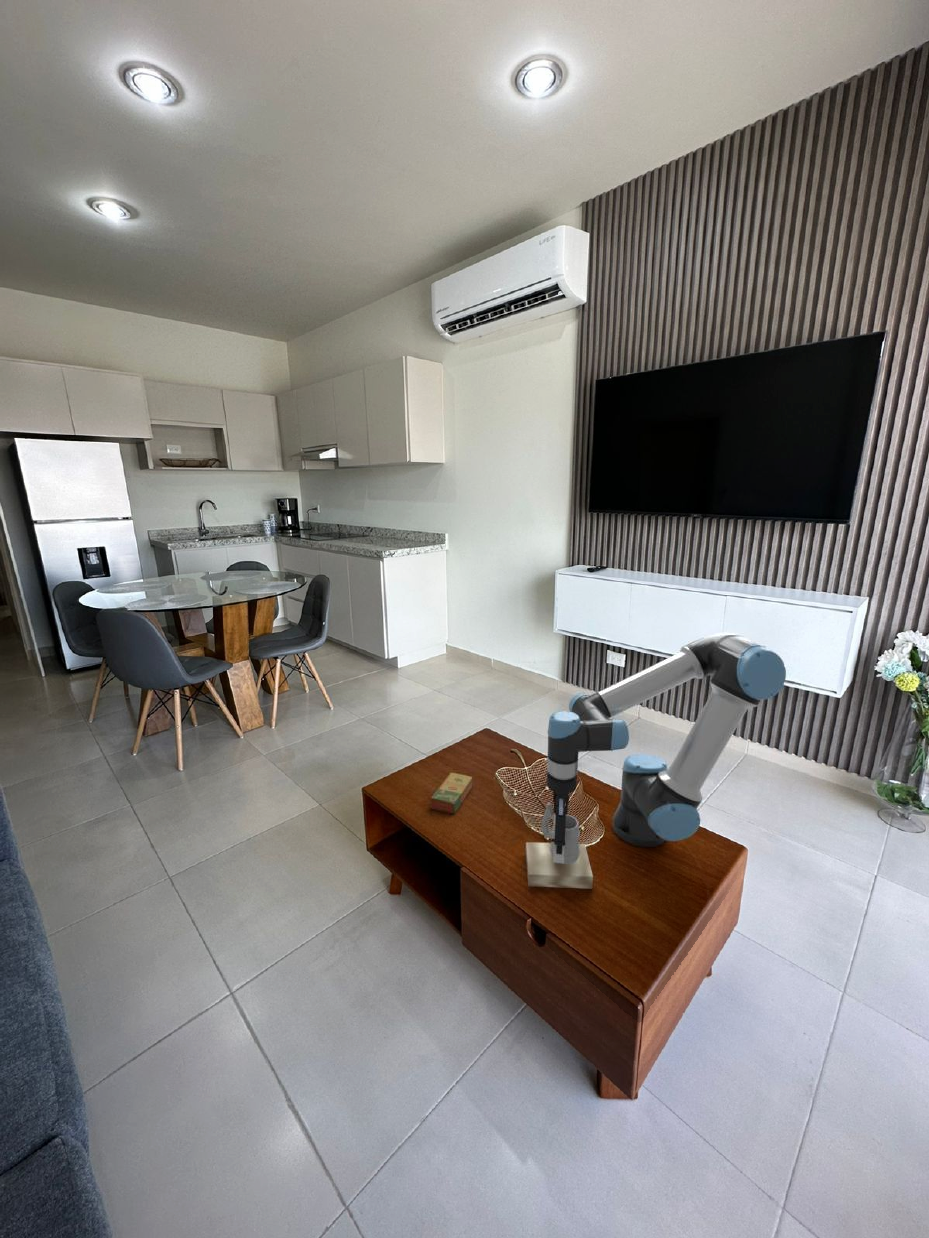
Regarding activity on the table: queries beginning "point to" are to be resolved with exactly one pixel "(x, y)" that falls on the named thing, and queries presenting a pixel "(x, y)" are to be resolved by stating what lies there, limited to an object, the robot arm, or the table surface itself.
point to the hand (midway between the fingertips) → (558, 849)
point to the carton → (451, 793)
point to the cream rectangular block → (556, 868)
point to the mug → (570, 835)
